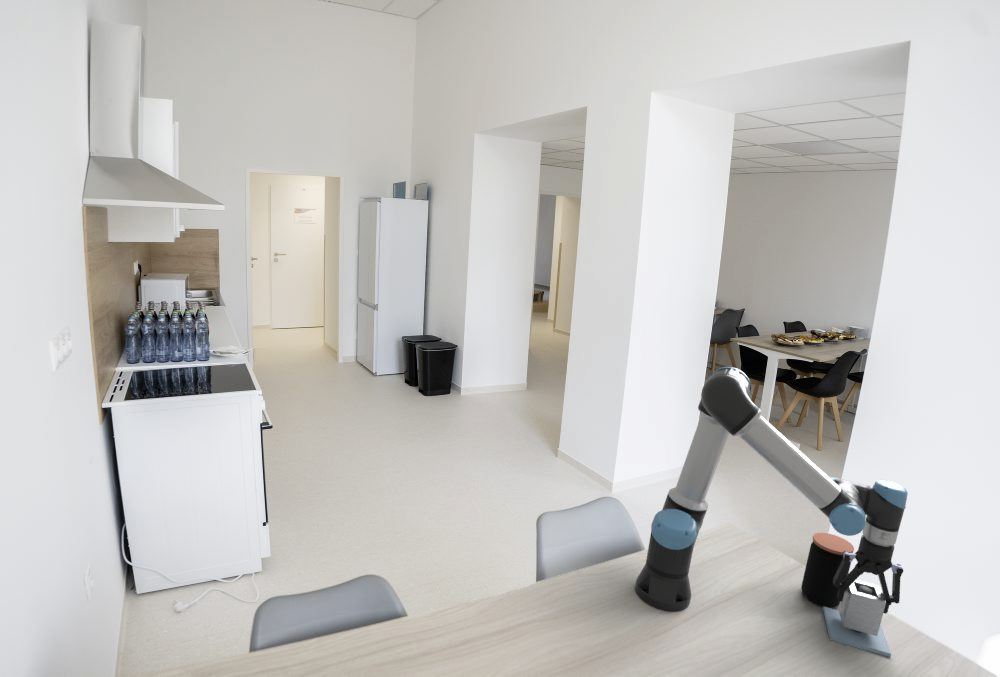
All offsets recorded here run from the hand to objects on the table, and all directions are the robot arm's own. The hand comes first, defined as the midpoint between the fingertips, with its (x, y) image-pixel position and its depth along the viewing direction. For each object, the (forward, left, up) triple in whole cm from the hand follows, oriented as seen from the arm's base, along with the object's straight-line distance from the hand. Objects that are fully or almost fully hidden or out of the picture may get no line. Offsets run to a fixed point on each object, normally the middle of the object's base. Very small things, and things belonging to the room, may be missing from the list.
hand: (858, 616), depth 166 cm
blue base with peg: (0, 0, -5) cm, 5 cm away
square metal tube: (0, 0, -2) cm, 2 cm away
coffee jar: (-7, +13, -5) cm, 16 cm away
